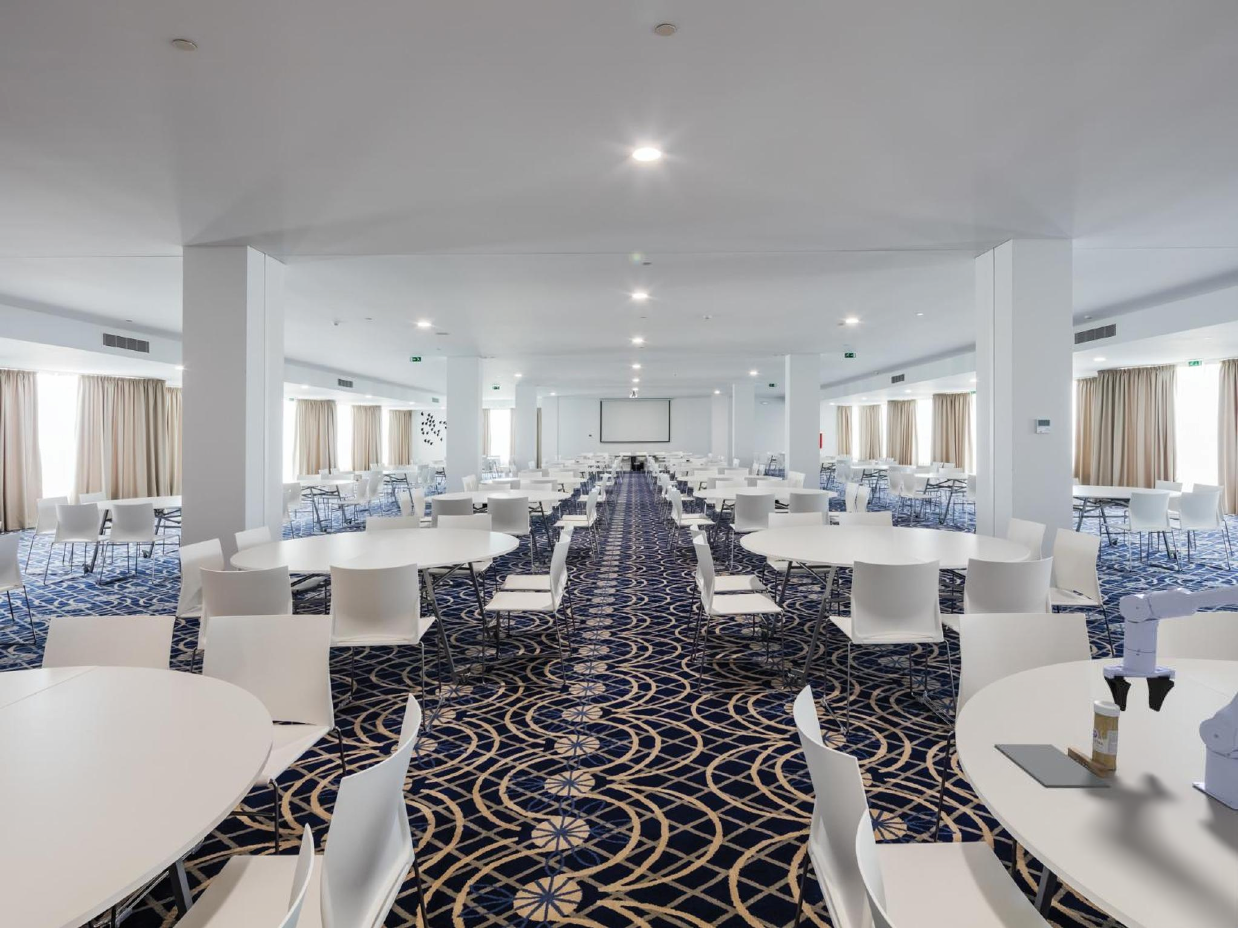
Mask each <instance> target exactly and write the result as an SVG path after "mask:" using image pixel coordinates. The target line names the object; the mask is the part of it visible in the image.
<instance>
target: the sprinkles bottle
mask: <svg viewBox="0 0 1238 928" xmlns="http://www.w3.org/2000/svg"><path fill="white" fill-rule="evenodd" d="M1093 712H1094V716H1093V717H1094V718H1093V729H1092V730H1093V732H1092V744H1091V745H1092V748H1091V749H1092V751H1091V759H1093V760H1094V761H1096V762H1097V763H1099V764H1100V765H1102V766H1103V767H1105V768H1106V769H1108V770H1110V769H1111V771H1112V770H1116V769H1117V768H1118V767H1117V766H1118V765H1117V756H1118V746H1119V745H1118V742H1119V718H1120V715H1121V711H1120V707H1119V706H1118V705H1117V704H1115V703H1114V702H1110V701H1107V700H1094V702H1093Z"/></svg>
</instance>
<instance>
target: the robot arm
mask: <svg viewBox="0 0 1238 928" xmlns="http://www.w3.org/2000/svg"><path fill="white" fill-rule="evenodd" d="M1233 604H1234V605H1237V606H1238V584H1235V585H1229V586H1227V585H1226V586H1223V587H1217V588H1211V589H1206V590H1201V591H1196V592H1195V591H1194V592H1193V591H1190V590H1189V589H1187V588H1185V587H1179V586H1177V585H1172V586H1166V590H1165V589H1164V590H1159V591H1153V590H1144V593H1141V594H1129V595H1127V596H1124V597H1123V598H1121V600H1120V602H1119V605H1118V607H1119V612H1120V614H1121V615H1122V617H1124V629H1123V630H1124V634H1123V636H1124V637H1123V660H1122V663H1121V664H1119V665H1111V666H1103V670H1102V676H1103V679H1104V681H1105V682H1106V684H1107V685H1108V688H1109V689H1110V693H1111V695H1112V698H1113V703H1114V704H1117V705H1118V706H1119V707H1120V712H1126V709H1127V703H1128V702H1127V701H1128V694H1129V691H1130V688H1131V687H1132V683H1130V682H1128V681H1127V680H1126V678H1135V679H1136V678H1137V679H1138V678H1142V679H1143V678H1145V679H1146V682H1147V688H1148V689H1147V690H1148V709H1150V710H1153V711H1154V712H1157V713H1158V712H1160V711H1161V708H1162V706H1163V703H1164V701H1165V699H1166V697H1167V696H1168V694H1169V693H1170V691H1171V690H1172V689H1173V688H1174V687H1175V681H1173V680H1175V679H1176V670H1175V669H1172V668H1170V667H1168V666H1167V667H1164V666H1157V647H1158V646H1157V643H1158V627H1159V624H1160V622H1159V621H1160V620H1165V619H1173V618H1181V617H1188V616H1189V617H1191V616H1194V615H1195V614H1196V613H1197V612H1198V610H1199V609H1200V608H1204V607H1205V608H1207V607H1214V606H1215V607H1216V606H1226V605H1233ZM1198 727H1199V728H1198V732H1199V736H1200V739H1201V741H1202V742H1203V744H1205V748H1206V750H1205V751H1206V752H1205V769H1204V770H1205V771H1204V781H1193V782H1191V785H1193V786H1194V787H1196V788H1198V789H1199V790H1200V791H1203V792H1204V793H1206V794H1207V795H1210V796H1211V797H1212V798H1214V799H1216V800H1218V801H1219V802H1221V803H1223V804H1224V805H1226V806H1228V807H1229V808H1231V809H1233V810H1238V691H1237V692H1236V694H1235V695H1234V696H1233V698H1232V699H1231V701H1230V702H1229V703H1227V704H1226V705H1225V706H1223V707H1222V708H1220V709H1219V710H1218V711H1216V712H1215V714H1214V715H1213V716H1212V717H1211V718H1207V719H1205V720H1203V721H1202V722H1201V723H1200V724H1199V726H1198Z"/></svg>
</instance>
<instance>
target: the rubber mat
mask: <svg viewBox="0 0 1238 928" xmlns="http://www.w3.org/2000/svg"><path fill="white" fill-rule="evenodd" d="M994 747H996V748H997V750H999V751H1000V752H1002V753H1003V754H1004V755H1006V756H1007V757H1008V758H1009V759H1010V760H1011V761H1013V762H1014V763H1015V764H1017V766H1019V767H1020V768H1021V769H1022V770H1024V771H1026V772H1027V773H1028V774H1029V775H1030V776H1032V777H1033V778H1034V779H1035V780H1037V781H1038V782H1039V783H1040V784H1042V785H1043V786H1044V787H1046V788H1110V786H1111V785H1110V784H1109V783H1107V782H1106V781H1105V780H1103V779H1102V778H1101V777H1100V776H1098V775H1097V774H1095V773H1094V772H1092V771H1091V770H1089V769H1088V768H1087V767H1085V766H1084V765H1082V764H1081V763H1079V762H1078V761H1076V760H1075V759H1074V758H1072V757H1071V756H1069V755H1068V754H1066V753H1064V752H1063V751H1062V750H1060V749H1058V748H1057V747H1056V746H1055V745H1053V744H1048V743H1047V744H1045V743H1044V744H1042V743H1040V744H1039V743H1036V744H1035V743H1033V744H1027V743H1025V744H1022V743H1021V744H1020V743H1018V744H1017V743H1016V744H1015V743H1011V744H1010V743H1006V744H1005V743H997V744H996V743H995V744H994Z"/></svg>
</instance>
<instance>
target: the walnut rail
mask: <svg viewBox="0 0 1238 928" xmlns="http://www.w3.org/2000/svg"><path fill="white" fill-rule="evenodd" d="M1067 756H1069V757H1070V758H1072V757H1073V758H1072V759H1073V760H1075V759H1076V760H1078V761H1079V762H1081V763H1083V764H1084V765H1085V766H1087V767H1088V768H1089V769H1091V770H1092V771H1094V772H1095V773H1096V774H1095V773H1094V772H1093V773H1094V774H1095V775H1097V774H1098V775H1099V776H1098V775H1097V776H1098V777H1099V778H1108V777H1109V776H1108V775H1109V769H1106V768H1105V767H1103V766H1102V765H1100V764H1099V763H1097V762H1096V761H1094V760H1093V759H1092V757H1090V756H1088V755H1087V754H1086V753H1084V752H1082V751H1081V750H1080V749H1078V748H1076V747H1074V746H1073V747H1071V746H1070V747H1069V746H1068V747H1067ZM1076 760H1075V761H1076ZM1078 761H1077V762H1078ZM1079 762H1078V763H1079ZM1081 763H1080V764H1081ZM1084 765H1083V766H1084ZM1085 766H1084V767H1085ZM1087 767H1086V768H1087ZM1088 768H1087V769H1088ZM1089 769H1088V770H1089ZM1091 770H1090V771H1091ZM1092 771H1091V772H1092Z"/></svg>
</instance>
